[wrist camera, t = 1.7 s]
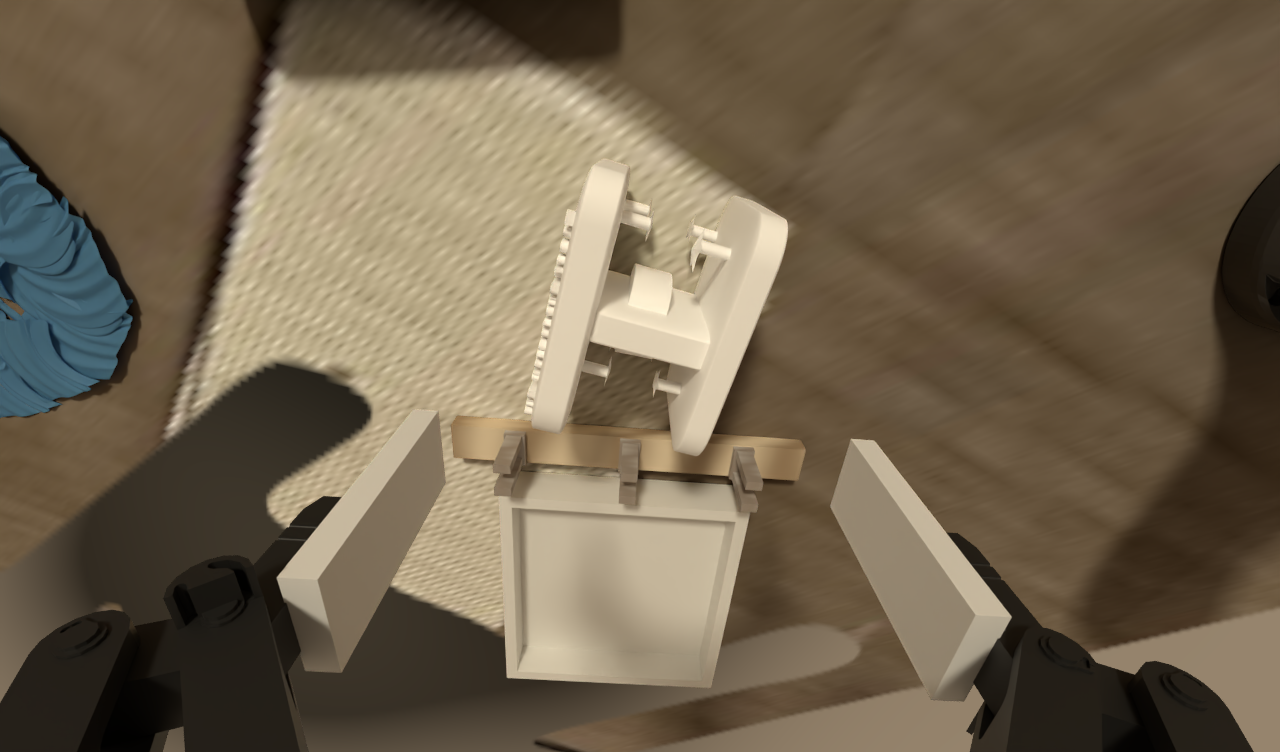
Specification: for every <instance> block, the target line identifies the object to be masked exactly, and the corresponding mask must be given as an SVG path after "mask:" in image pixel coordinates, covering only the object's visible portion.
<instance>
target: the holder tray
mask: <svg viewBox="0 0 1280 752" xmlns="http://www.w3.org/2000/svg"><path fill="white" fill-rule="evenodd" d="M619 487H620V478H619V477H604V476H589V475H574V474H558V473H543V472H528V471H520V473H519V476H518V479H517V482H516V484H515V487H514V490H513V493H512V496H511V497H508V496H499V515H500V536H501V558H502V580H503V601H504V623H505V645H506V666H507V678H522V679H542V680H543V679H544V680H561V681H562V680H563V681H581V682H600V683H601V682H602V683H619V684H638V685H658V686H677V687H678V686H679V687H699V688H711V686H712V682H713V678H714V673H715V668H716V664H717V660H718V655H719V651H720V646H721V642H722V637H723V633H724V628H725V624H726V619H727V615H728V610H729V606H730V601H731V597H732V592H733V588H734V583H735V579H736V574H737V570H738V565H739V561H740V556H741V552H742V547H743V543H744V539H745V534H746V530H747V525H748V521H749V516H750V512H741V511H740V508H739V504H738V500H737V497H736V493H735V489H734V485H724V484H709V483H694V482H679V481H664V480H649V479H637V482H636V499H635V505H632V504H619Z"/></svg>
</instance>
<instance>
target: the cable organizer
mask: <svg viewBox="0 0 1280 752" xmlns="http://www.w3.org/2000/svg"><path fill="white" fill-rule="evenodd" d="M629 177H630V168H629V166H628V165H625V164H622V163H619V162H616V161H612V160H609V159H606V158H603V159H602V160H600V161H599V162H597V163H595V164H594V165H593V166H592V167H591V169H590V170H589V173H588V175H587V177H586V180H585V182H584V185H583V188H582V191H581V194H580V198H579V201H578V205H577V209H576V211H574V210H570V209H567V213H566V218H565V223H564V224H565V227H564V231H563V236H565V237H569V238H570V239H566V238H563V239H562V242H561V245H560V250H559V251H560V252H563V253H566V255H565V254H562V253H560V255H558V258H557V265H556V267H555V268H554V271H555V273H554V276H556V277H555V279H554V280H553V282H552V284H551V287H550V296H549V301H548V306H547V310H546V315H547V316H546V318H545V319H544V322H543V329H542V333H541V336H542V337H541V339H540V342H539V346H538V351H537V354H536V357H537V358H536V361H535V365H534V367H535V369H534V371H533V375H532V379H533V381H532V383H531V385H530V387H529V390H528V394H527V397H528V398H527V402H526V407H525V411H524V414H528V415H532V419H531V422H532V427H533V428H535V429H539V430H543V431H547V432H551V433H556V434H560V433H561V432H562V431H563V429H564V427H565V425H566V422H567V420H568V417H569V415H570V412H571V409H572V405H573V402H574V398H575V394H576V391H577V387H578V383H579V379H580V375H581V372H586V373H590V374H594V375H598V376H602V377H605V378H606V379H605V383H606V380H607V378H608V376H609V373H610V371H611V360H612V357H611V360H609V365H608V366H606V365H602V364H598V363H594V362H590V361H587V360H585V356H586V352H587V349H588V345H589V341H590V342H593V343H596V344H600V345H604V346H607V347H610V348H615V349H614V351H615V352H620V353H624V354H629V355H634V356H639V357H643V358H648V359H651V363H652V360H653V359H657V360H660V361H664V362H668V363H670V366H669V371H668V375H667V380H664V379H660V378H659V374H660V371H659V372H658V373H657V371H656V374H655V378H654V381H653V386H652V387H653V396H654V393H655V390H656V389H657V390H661V391H665V392H667V401H668V410H669V420H670V429H671V438H672V447H673V450H674V451H676V452H680V453H685V454H689V455H693V456H698V455H700V454H701V453H702V451H703V450H704V449H705V447H706V445H707V443H708V442H709V439H710V437H711V435H712V432H713V430H714V427H715V425H716V423H717V420H718V418H719V415H720V413H721V410H722V408H723V405H724V403H725V400H726V398H727V395H728V393H729V391H730V388H731V386H732V383H733V381H734V378H735V376H736V373H737V371H738V368H739V366H740V364H741V361H742V359H743V356H744V354H745V351H746V349H747V346H748V344H749V341H750V339H751V337H752V334H753V332H754V329H755V327H756V324H757V322H758V319H759V317H760V314H761V312H762V309H763V307H764V305H765V302H766V300H767V297H768V295H769V292H770V290H771V287H772V285H773V282H774V280H775V278H776V275H777V273H778V270H779V267H780V265H781V261H782V258H783V255H784V251H785V247H786V243H787V236H788V224H787V221H786V220H785V219H784V218H782V217H781V216H779V215H777V214H775V213H774V212H772V211H770V210H768V209H767V208H765V207H763V206H761V205H760V204H758V203H756V202H754V201H751V200H748V199H745V198H742V197H738V196H735V195H734V196H732V197H731V198H730V200H729V201H728V203H727V204H726V206H725V208H724V210H723V212H722V215H721V217H720V219H719V222H718V225H717V227H716V230H715V231H713V230H709V229H706V228H703V227H699V226H696V225H694V224H693V223H694V219H695V216H694V218H693V220H692V222H691V221H690V224H689V227H688V232H687V236H686V238H687V237H688V242H689V238H690V235H691V236H694V237H697V238H698V240H697V241H696V242H695V244H694V246H693V247H692V249H691V259H690V266H691V265H692V273H693V270H694V266H695V263H696V260H697V257H698V255H699V253H702V254H705V255H707V257H706V260H705V262H704V265H703V268H702V271H701V274H700V277H699V280H698V283H697V286H696V289H695V292H694V294H692V293H688V292H685V291H681V290H678V289H674V288H672V275H671V273H668V272H664V271H661V270H657V269H654V268H650V267H647V266H643V265H640V264H636V263H635V264H634V267H633V269H632V272H631V276H628V275H625V274H621V273H618V272H614V271H610V270H608V269H609V265H610V261H611V257H612V253H613V249H614V246H615V242H616V238H617V234H618V230H619V226H620V223H623V224H627V225H630V226H633V227H637V228H640V229H643V230H647V232H646V235H645V236H646V240H647V237H648V235H649V233H650V230H651V228H652V224H653V214H654V210H653V213H652V216H651V217H649V215H650V212H651V202H652V199H651V202H650V205H649V206H648V205H645V204H641V203H638V202H635V201H631V200H628V199H626V196H627V191H628V185H629ZM695 215H696V214H695ZM702 239H704V240H708V241H711V242H707V241H704V240H702ZM645 242H646V241H645ZM609 351H610V349H609ZM604 385H605V384H604Z"/></svg>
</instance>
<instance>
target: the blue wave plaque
mask: <svg viewBox="0 0 1280 752" xmlns="http://www.w3.org/2000/svg"><path fill="white" fill-rule="evenodd" d="M28 169H29V166H27V165H25V164H23V163H22V161H21V160H20V158H19V157H18V155H17V154H16V153H15V152H14V151H13V150H12V149H11V147H10V145H9V142H8V141H7V140H5V139H4V138H2V137H1V136H0V297H3V298H6V299H10V300H12V301H13V302H14V303H15V302H16V303H17V304H18V305H19V306H20V307H21V308H22V309H23V310H24V311H25V312H24V313H23V314H22V316H21V315H19V314H18V313H17V312H15V311H14V310H13V309H11V308H10V307H9V306H8V305H6V304H5V303H4V302H3V301H2V300H1V299H0V308H1V309H2V310H3V311H4V312H5V313H6V314H7V315H9V316H10V317H11V318H12V319H14V320H15V321H14V320H8V319H6V315H5V313H4V312H3V311H1V310H0V384H1V385H2V386H3V387H4V388H5V389H6V390H5V389H4V388H3V387H2V386H1V385H0V418H1V417H6V416H14V415H15V416H20V417H23V416H29V415H32V414H36V413H39V411H41V412H43V413H44V412H48V411H50V410H49V409H48V408H51V407H55V406H58V405H62V404H60V403H57V402H55V401H52V400H54V399H56V398H60V397H66V398H68V397H72V396H75V395H77V394H79V393H81V392H84V391H85V392H87V391H89V390H91V388H89V387H88V386H90V385H92V384H95V383H97V382H101V381H98V380H95V379H110V377H111V375H112V373H113V371H114V369H115V367H116V365H117V363H118V359H117V358H116V354H117V352H118V351H119V349H120V347H121V345H122V343H123V342H124V340H125V338H126V336H127V332H128V330H129V328H130V327H131V325H130V323H131V321H132V319H133V317H132V316H130V315H129V314H127V313H126V311H127V310H128V308H129V306H130V305H131V303H132V302H133V300H132V299H130V300H125V298H124V296H123V294H122V293H121V291H120V287H119V284H118V282H117V281H116V280H115V279H114V278H113V277H111V276H110V275H109V274H108V273H107V270H106V267H105V264H104V262H103V261H102V259H101V257H100V254H99V251H98V248H97V246H96V244H95V242H94V240H93V238H92V235H91V231H90V230H89V229H88V228H87V227H86V226H85V223H84V220H83V219H82V218H80V217H77V216H73V215H71V214H69V213H68V200H67V199H66V198H65V197H64V196H63V197H62V200H61V202H60V205H59V204H58V202H57V200H56V199H55V197H54V196H53V195H52V194H50V192H49V191H48V190H47V189H45V188H44V187H43V186H41V185H39V184H38V183H37V182H36V177H37V174H35V173H32V172H29V171H28ZM11 394H12V395H11ZM26 404H27V405H26ZM38 410H39V411H38Z"/></svg>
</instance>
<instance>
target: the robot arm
mask: <svg viewBox="0 0 1280 752" xmlns="http://www.w3.org/2000/svg"><path fill="white" fill-rule="evenodd" d="M1222 276H1223V286H1224V290H1225V293H1226V296H1227V299H1228V301H1229V303H1230V304H1231V306H1232V307H1233V308H1234V310H1235V311H1236V312H1237V313H1238V314H1239V315H1240V316H1242V317H1243V318H1244V319H1246V320H1247V321H1249V322H1251V323H1253V324H1256V325H1258V326H1262V327H1265V328H1268V329H1271V330H1275V331H1278V332H1280V165H1279V166H1278V167H1277V168H1276V169H1275V170H1274V171H1273V172H1272V173H1271V174H1270V175H1269V176H1268V177H1267V178H1266V180H1265V181H1264V182H1263V183H1262V184H1261V186H1260V187H1259V188H1258V189H1257V191H1256V192H1255V193H1254V195H1253V196H1252V197H1251V199H1250V200H1249V202H1248V203H1247V205H1246V206H1245V208H1244V209H1243V211H1242V213H1241V214H1240V216H1239V218H1238V220H1237V222H1236V224H1235V226H1234V228H1233V230H1232V233H1231V235H1230V238H1229V240H1228V244H1227V247H1226V250H1225V255H1224V260H1223V270H1222ZM445 483H446V482H445V472H444V462H443V452H442V442H441V432H440V422H439V412H438V411H432V410H417V409H413V410H412V412H411V413H410V414H409V415H408V417H407V418H406V419H405V420H404V421H403V423H402V424H401V425H400V426H399V428H398V429H397V430H396V431H395V433H394V434H393V435H392V436H391V437H390V439H389V440H388V441H387V442H386V444H385V445H384V446H383V447H382V449H381V450H380V451H379V452H378V453H377V455H376V456H375V457H374V458H373V460H372V461H371V462H370V463H369V465H368V466H367V467H366V468H365V469H364V471H363V472H362V473H361V474H360V476H359V477H358V478H357V479H356V481H355V482H354V483H353V484H352V485H351V487H350V488H349V489H348V490H347V492H346V493H345V494H344V495H343V497H329V496H323V497H322V498H320V499H318V500H317V501H315V502H314V503H312V504H311V505H309V506H307V507H306V508H304V509H303V510H302V511H301V512H300V514H299V515H298V516H297V517H296V518H295V519H294V520H293V521H292V523H291V524H290V527H289V528H288V527H287V528H286V529H285V530H284V532H283V533H282V534H281V535H280V536H279V539H278V540H276V541H275V542H274V543H273V544H272V545H271V546H270V547H269V548H268V550H267V551H266V552H265V553H264V554H263V555H262V556H261V557H260V558H259V560H258V561H257V562H256V563H255V564H254V565H252V563H251V562H250V561H249V559H247V558H244V557H241V556H238V555H237V556H236V555H235V556H221V557H217V558H213V559H209V560H206V561H204V562H201V563H199V564H197V565H195V566H193V567H190V568H189V569H188V570H186V571H185V572H183V573H182V574H181V575H179V576H177V577H176V578H175V579H174V581H173V582H172V583H171V584H170V585H169V586H168V587H167V589H166V592H165V595H164V598H163V599H164V601H165V604H166V606H167V608H168V610H169V612H170V614H171V617H172V619H168V620H164V621H158V622H153V623H148V624H143V625H138V626H134V624H133V622H132V620H131V619H130V617H129V616H128V615H127V614H126V613H125V612H121V611H116V610H108V611H100V612H94V613H92V614H88V615H86V616H83V617H80V618H77V619H75V620H73V621H71V622H69V623H67V624H65V625H63V626H61V627H59V628H57V629H56V630H54V631H53V632H52V633H50V634H49V635H48V636H46V637H45V638H44V639H42V640H41V641H40V642H39V643H38V644H37V645H36V647H35V648H34V649H33V650H32V651H31V652H30V654H29V655H28V657H27V658H26V660H25V662H24V663H23V665H22V667H21V669H20V670H19V672H18V674H17V675H16V677H15V679H14V680H13V682H12V684H11V686H10V687H9V689H8V691H7V693H6V694H5V696H4V697H3V699H2V701H1V703H0V752H163V749H164V745H165V742H166V738H167V735H168V732H169V730H171V729H175V728H178V727H182V726H184V741H185V752H309V751H308V747H307V744H306V739H305V735H304V731H303V727H302V723H301V719H300V715H299V711H298V707H297V703H296V699H295V695H294V692H293V687H292V683H291V679H290V676H289V673H288V670H289V669H290V668H291V666H292V665H293V663H294V661H295V660H296V658H297V657H298V655H299V654H300V656H301V659H302V662H303V665H304V669H305V671H318V672H340V673H341V672H342V671H343V669H344V667H345V665H346V663H347V661H348V660H349V658H350V656H351V654H352V652H353V651H354V649H355V647H356V645H357V643H358V641H359V640H360V638H361V636H362V634H363V632H364V630H365V629H366V627H367V625H368V623H369V621H370V620H371V618H372V616H373V614H374V612H375V610H376V609H377V607H378V605H379V603H380V601H381V600H382V598H383V596H384V594H385V592H386V590H387V588H388V587H389V585H390V583H391V581H392V579H393V578H394V576H395V574H396V572H397V570H398V569H399V567H400V565H401V563H402V561H403V559H404V558H405V556H406V554H407V552H408V550H409V548H410V547H411V545H412V543H413V541H414V539H415V538H416V536H417V534H418V532H419V530H420V528H421V527H422V525H423V523H424V521H425V519H426V517H427V516H428V514H429V512H430V510H431V508H432V507H433V505H434V503H435V501H436V499H437V497H438V496H439V494H440V492H441V490H442V488H443V486H444V485H445ZM830 507H831V509H832V511H833V513H834V515H835V517H836V519H837V521H838V522H839V524H840V526H841V528H842V530H843V532H844V534H845V536H846V538H847V540H848V542H849V543H850V545H851V547H852V549H853V551H854V553H855V555H856V557H857V559H858V561H859V563H860V565H861V566H862V568H863V570H864V572H865V574H866V576H867V578H868V580H869V582H870V584H871V586H872V587H873V589H874V591H875V593H876V595H877V597H878V599H879V601H880V603H881V605H882V607H883V609H884V610H885V612H886V614H887V616H888V618H889V620H890V622H891V624H892V626H893V628H894V630H895V631H896V633H897V635H898V637H899V639H900V641H901V643H902V645H903V647H904V649H905V651H906V653H907V654H908V656H909V658H910V660H911V662H912V664H913V666H914V668H915V670H916V672H917V674H918V675H919V677H920V679H921V681H922V683H923V685H924V687H925V689H926V691H927V693H928V695H929V697H930V698H931V700H943V701H964V700H965V699H966V697H967V695H968V693H969V692H970V690H971V688H972V686H973V685H974V684H975V686H976V688H977V689H978V691H979V692H980V694H981V696H982V697H983V699H984V702H983V704H982V706H981V707H980V709H979V711H978V713H977V714H976V716H975V718H974V719H973V721H972V723H971V724H970V726H969V728H968V730H967V732H968V733H970V734H971V735H972V734H973V733H974V735H973V739H972V744H971V749H970V752H1253V750H1252V748H1251V746H1250V745H1249V743H1248V741H1247V740H1246V738H1245V736H1244V734H1243V733H1242V731H1241V729H1240V728H1239V726H1238V724H1237V723H1236V721H1235V719H1234V717H1233V716H1232V714H1231V712H1230V710H1229V709H1228V707H1227V706H1226V705H1225V704H1224V702H1223V701H1222V700H1221V699H1220V697H1219V696H1218V695H1217V694H1216V693H1214V692H1213V691H1212V690H1211V689H1210V688H1209V687H1208V686H1206V685H1205V684H1204V683H1202V682H1201V681H1200V680H1198V679H1197V678H1195V677H1193V676H1192V675H1190V674H1188V673H1187V672H1185V671H1183V670H1181V669H1178V668H1176V667H1174V666H1172V665H1169V664H1165V663H1161V662H1157V661H1152V662H1145V663H1144V665H1143V666H1142V667H1141V668H1140V669H1139V671H1138V672H1137V673H1136V674H1135V675H1134V674H1130V673H1127V672H1124V671H1121V670H1118V669H1115V668H1111V667H1108V666H1105V665H1102V664H1098V663H1096V662H1095V661H1094V659H1093V658H1092V657H1091V655H1090V654H1089V653H1088V652H1087V651H1086V650H1084V649H1083V648H1082V647H1081V646H1080V645H1079V644H1077V643H1076V642H1075V641H1073V640H1071V639H1070V638H1068V637H1066V636H1065V635H1063V634H1061V633H1058V632H1056V631H1053V630H1051V629H1048V628H1043V627H1042V626H1041V625H1040V624H1039V623H1038V621H1037V620H1036V619H1035V618H1034V617H1033V615H1032V614H1031V613H1030V612H1029V610H1028V609H1027V608H1026V607H1025V606H1024V604H1023V603H1022V602H1021V601H1020V600H1019V598H1018V597H1017V596H1016V595H1015V594H1014V592H1013V591H1012V590H1011V589H1010V587H1009V586H1008V585H1007V584H1006V583H1005V581H1004V580H1001V577H1000V575H999V574H998V573H997V572H996V571H995V569H994V568H993V567H990V563H989V562H988V561H987V560H986V558H985V557H984V556H983V555H982V554H981V552H980V551H979V550H978V549H977V548H976V547H975V546H974V545H972V544H971V543H970V542H968V541H967V540H966V539H965V538H963V537H962V536H961V535H959V534H958V533H946V532H945V531H944V529H943V528H942V527H941V526H940V524H939V523H938V522H937V520H936V519H935V518H934V517H933V515H932V514H931V513H930V511H929V510H928V509H927V508H926V506H925V505H924V504H923V502H922V501H921V500H920V499H919V497H918V496H917V495H916V493H915V492H914V491H913V490H912V488H911V487H910V486H909V485H908V483H907V482H906V481H905V479H904V478H903V477H902V476H901V474H900V473H899V472H898V470H897V469H896V468H895V467H894V465H893V464H892V463H891V461H890V460H889V459H888V458H887V456H886V455H885V454H884V452H883V451H882V450H881V449H880V447H879V446H878V445H877V443H876V442H875V441H873V440H859V439H851V441H850V444H849V447H848V450H847V454H846V457H845V460H844V463H843V467H842V470H841V473H840V476H839V480H838V483H837V486H836V489H835V493H834V496H833V499H832V502H831V506H830Z"/></svg>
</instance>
